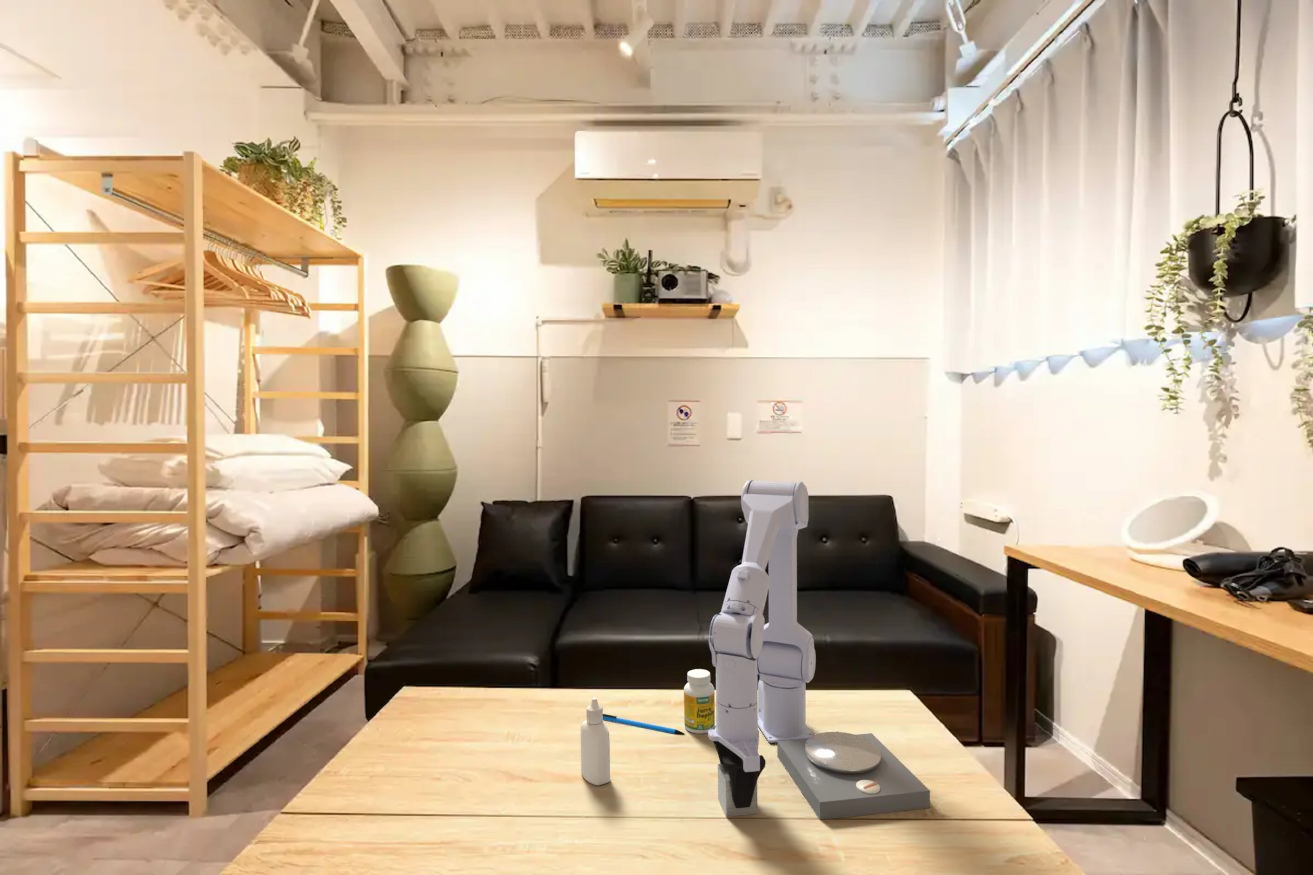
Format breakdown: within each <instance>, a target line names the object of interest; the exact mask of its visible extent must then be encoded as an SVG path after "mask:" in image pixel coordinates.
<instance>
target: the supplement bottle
mask: <svg viewBox="0 0 1313 875" xmlns="http://www.w3.org/2000/svg"><path fill="white" fill-rule="evenodd" d="M686 680H687V683H686V684H685V685H684V687H683V714H684V718H683V720H684V722H683V723H684V724H683V725H684V728H685V730H687V731H688V732H690V733H693V734H699V735H701V734H708V731H709V730H713V729H715V727H716V719H715V718H716V714H715V713H716V712H715V710H716V709H715V708H716V693H715V687H714V685H713V684H712V682H711V672H710V671H709V670H707V669H702V668H698V669H697V668H695V669H692V670H689V671H687V679H686Z"/></svg>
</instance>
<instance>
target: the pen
mask: <svg viewBox="0 0 1313 875" xmlns="http://www.w3.org/2000/svg"><path fill="white" fill-rule="evenodd" d="M603 721H608V722H613V723H618V724H623V725H628V726H633V727H638V728H643V729H648V730H651V731H652V730H653V731H657V732H662V733H668V734H672V735H686V733H685V732H683V731H680V730H679V729H676V728H670V727H666V726H661V725H655V724H652V723H651V724H650V723H646V722H640V721H636V720H631V719H627V718H626V719H625V718H620V717H618V716H617V715H611V714H607V713H603Z"/></svg>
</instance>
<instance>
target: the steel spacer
mask: <svg viewBox="0 0 1313 875" xmlns="http://www.w3.org/2000/svg"><path fill="white" fill-rule="evenodd" d="M717 799H718V802H719V804H720V807H721V809H722V811H723V814H724V815H725V818H729V817H730V818H731V817H739V816H749V815H757V814H758V782H757V783H756V786H755V790H754V794H753V798H752V802H751V805H750V807H746V808H736V807H735V805H734V802H733V798H732V791H731V784H730V779H729V775H728V771H727V769H726V766H725V764H720V763H718V764H717Z"/></svg>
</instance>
